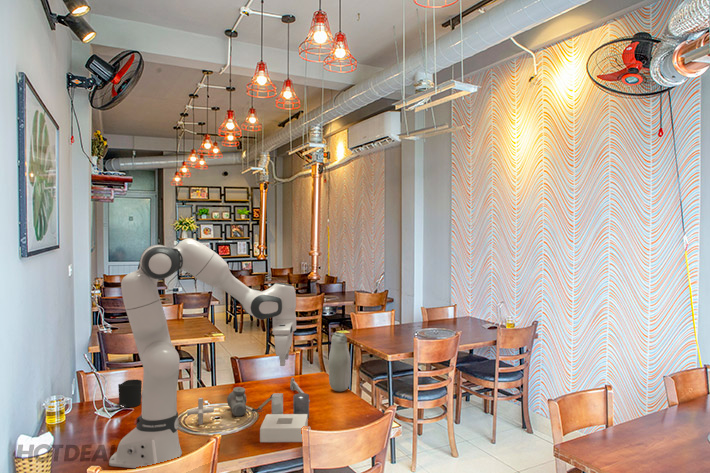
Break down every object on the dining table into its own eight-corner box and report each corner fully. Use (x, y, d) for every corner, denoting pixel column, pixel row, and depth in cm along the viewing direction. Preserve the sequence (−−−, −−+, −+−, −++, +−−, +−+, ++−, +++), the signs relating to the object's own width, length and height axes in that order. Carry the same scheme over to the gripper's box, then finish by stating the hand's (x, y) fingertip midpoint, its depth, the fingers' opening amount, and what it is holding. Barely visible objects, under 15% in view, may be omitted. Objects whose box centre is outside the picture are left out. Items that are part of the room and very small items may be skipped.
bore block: (260, 442, 175) (260, 428, 175) (266, 427, 189) (266, 414, 189) (304, 441, 176) (304, 428, 176) (307, 426, 190) (307, 414, 190)
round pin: (292, 420, 196) (292, 398, 196) (294, 414, 203) (294, 393, 203) (308, 420, 196) (308, 398, 196) (309, 414, 203) (309, 393, 203)
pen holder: (116, 404, 216) (116, 381, 216) (138, 400, 221) (138, 378, 221) (120, 410, 208) (120, 387, 208) (144, 405, 214) (144, 383, 214)
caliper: (290, 390, 236) (290, 377, 236) (292, 389, 237) (292, 376, 237) (308, 402, 218) (308, 388, 218) (310, 402, 219) (310, 388, 219)
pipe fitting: (226, 407, 210) (228, 384, 209) (245, 407, 212) (247, 384, 212) (227, 420, 199) (230, 396, 198) (247, 419, 201) (250, 396, 200)
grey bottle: (353, 389, 236) (353, 332, 236) (342, 395, 227) (342, 335, 227) (336, 386, 241) (336, 330, 241) (325, 391, 232) (324, 333, 233)
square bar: (271, 421, 195) (271, 396, 195) (273, 417, 199) (273, 393, 199) (281, 421, 195) (281, 396, 195) (283, 417, 199) (283, 393, 199)
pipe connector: (186, 429, 187) (186, 403, 187) (188, 420, 197) (188, 395, 197) (213, 426, 190) (213, 401, 190) (213, 417, 199) (213, 393, 199)
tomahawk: (265, 415, 205) (266, 412, 205) (251, 412, 207) (251, 409, 207) (285, 397, 226) (285, 395, 226) (271, 395, 228) (272, 393, 228)
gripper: (280, 320, 193) (280, 355, 193) (271, 330, 172) (271, 369, 172) (295, 320, 193) (295, 355, 193) (289, 330, 172) (289, 369, 172)
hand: (284, 362), depth 182 cm, fingers open, 8 cm apart
